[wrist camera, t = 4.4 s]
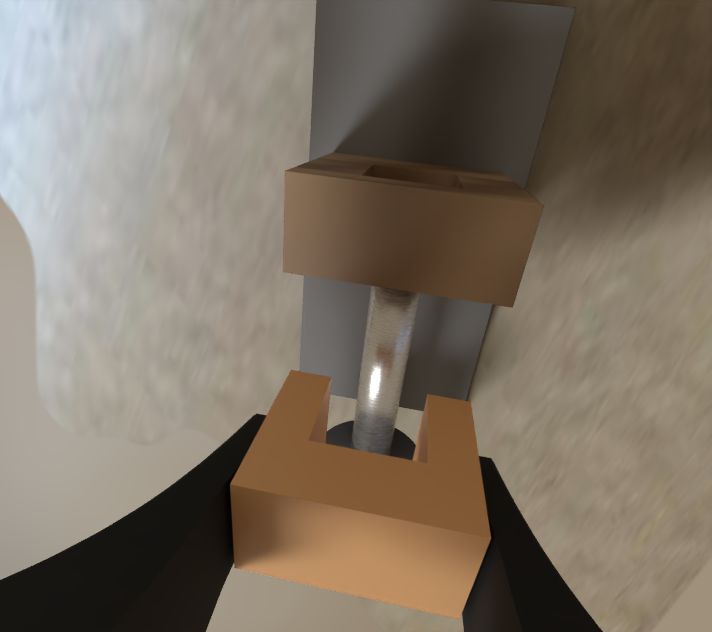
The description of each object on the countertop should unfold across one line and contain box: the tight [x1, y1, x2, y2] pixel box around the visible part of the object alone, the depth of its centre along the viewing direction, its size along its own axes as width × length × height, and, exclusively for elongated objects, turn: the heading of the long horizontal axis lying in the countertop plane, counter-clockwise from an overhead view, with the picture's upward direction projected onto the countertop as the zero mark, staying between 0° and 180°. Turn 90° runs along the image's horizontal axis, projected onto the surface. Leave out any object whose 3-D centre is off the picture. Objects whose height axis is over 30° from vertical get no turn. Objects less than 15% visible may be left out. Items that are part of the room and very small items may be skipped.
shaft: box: [326, 286, 420, 461], centre depth 17 cm, size 5×12×5 cm, turn 174°
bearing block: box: [283, 0, 576, 411], centre depth 16 cm, size 9×18×7 cm, turn 174°
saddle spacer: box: [230, 370, 491, 619], centre depth 11 cm, size 6×3×4 cm, turn 84°
